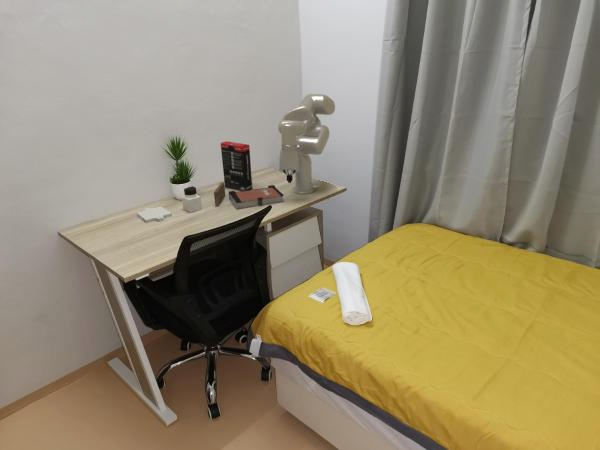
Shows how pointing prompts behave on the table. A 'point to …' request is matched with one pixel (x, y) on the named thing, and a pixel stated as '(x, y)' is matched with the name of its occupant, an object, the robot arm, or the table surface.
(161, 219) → the mounting plate
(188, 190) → the medicine bottle
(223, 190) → the walnut board
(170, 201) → the table surface
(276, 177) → the table surface
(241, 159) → the graphics card box
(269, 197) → the book
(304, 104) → the robot arm
